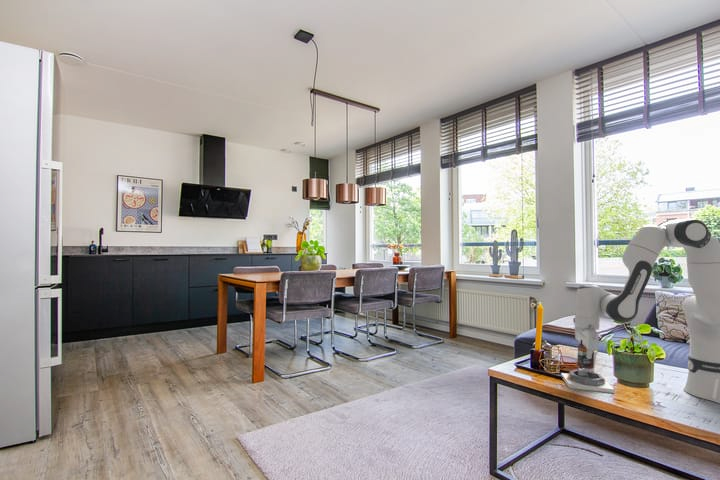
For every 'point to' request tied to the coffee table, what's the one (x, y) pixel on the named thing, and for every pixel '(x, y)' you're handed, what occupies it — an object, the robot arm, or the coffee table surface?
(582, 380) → the ring
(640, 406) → the coffee table surface
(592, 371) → the smoothie
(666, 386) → the coffee table surface
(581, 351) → the supplement bottle
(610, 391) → the socket plate
